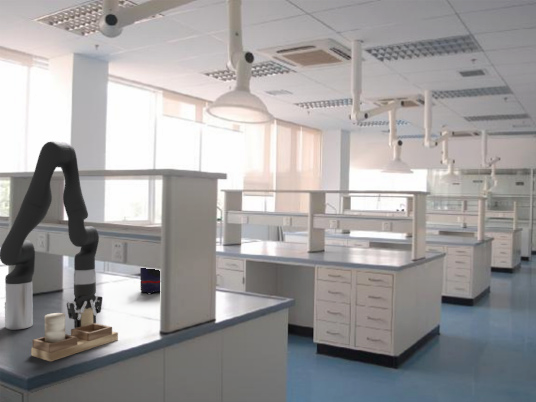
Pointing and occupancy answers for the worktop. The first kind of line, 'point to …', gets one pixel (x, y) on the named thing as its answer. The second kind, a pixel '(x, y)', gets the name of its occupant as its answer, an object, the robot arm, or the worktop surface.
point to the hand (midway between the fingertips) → (85, 327)
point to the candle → (87, 317)
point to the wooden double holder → (69, 338)
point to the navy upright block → (150, 280)
